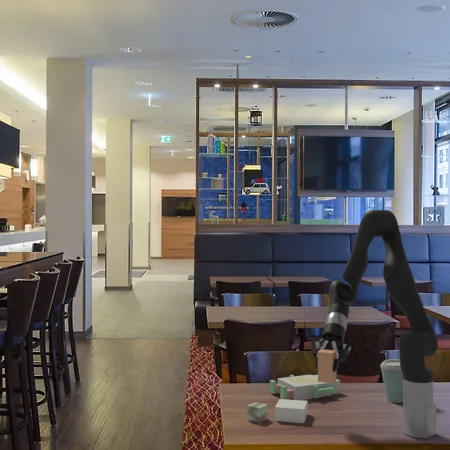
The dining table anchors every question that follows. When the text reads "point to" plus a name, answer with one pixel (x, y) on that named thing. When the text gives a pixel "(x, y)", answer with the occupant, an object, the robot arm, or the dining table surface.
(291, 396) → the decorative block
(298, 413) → the grey base block
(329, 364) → the terracotta block
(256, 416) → the sage cube
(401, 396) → the disposable coffee cup
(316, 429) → the dining table surface
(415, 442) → the dining table surface
